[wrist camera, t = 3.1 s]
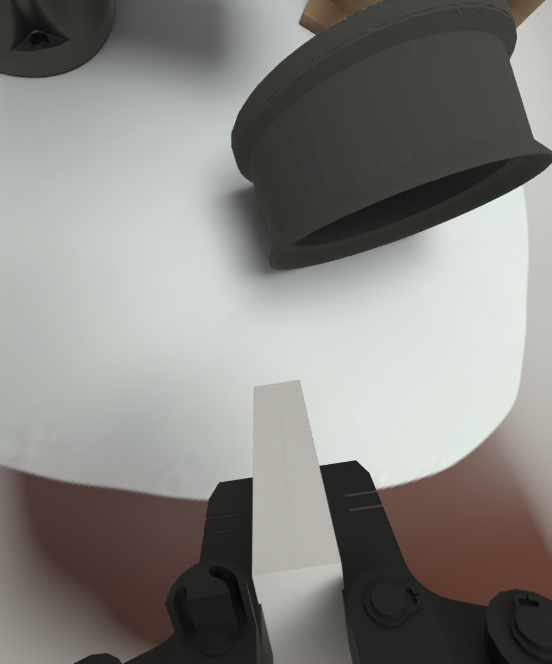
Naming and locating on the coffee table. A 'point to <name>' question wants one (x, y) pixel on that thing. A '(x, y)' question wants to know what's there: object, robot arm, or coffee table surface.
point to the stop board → (338, 3)
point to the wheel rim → (386, 128)
